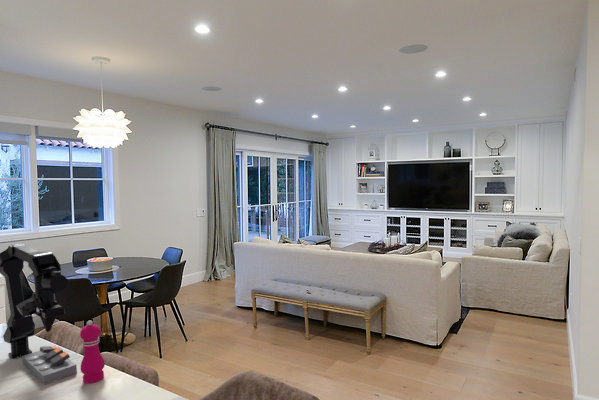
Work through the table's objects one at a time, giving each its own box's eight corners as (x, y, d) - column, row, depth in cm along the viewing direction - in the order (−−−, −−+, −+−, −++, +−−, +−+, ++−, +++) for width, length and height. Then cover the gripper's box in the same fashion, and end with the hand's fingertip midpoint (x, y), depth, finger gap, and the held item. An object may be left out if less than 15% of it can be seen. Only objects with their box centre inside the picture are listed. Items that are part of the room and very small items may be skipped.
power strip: (22, 364, 148) (22, 355, 147) (53, 354, 155) (52, 346, 155) (44, 384, 132) (43, 375, 131) (76, 373, 139) (76, 363, 139)
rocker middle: (46, 360, 144) (43, 355, 144) (60, 352, 148) (58, 346, 147) (49, 363, 142) (47, 358, 141) (64, 354, 145) (62, 349, 145)
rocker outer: (51, 365, 140) (49, 359, 140) (66, 356, 144) (64, 351, 143) (55, 368, 138) (53, 363, 137) (70, 359, 141) (68, 354, 141)
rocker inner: (39, 352, 148) (40, 346, 148) (53, 351, 152) (55, 345, 152) (42, 355, 145) (43, 349, 146) (57, 354, 149) (58, 348, 149)
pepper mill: (95, 385, 130) (91, 324, 129) (76, 383, 132) (71, 324, 131) (110, 374, 137) (106, 317, 136) (91, 372, 139) (87, 316, 138)
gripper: (9, 289, 142) (13, 332, 143) (26, 298, 130) (30, 345, 131) (45, 282, 151) (48, 323, 152) (64, 290, 139) (67, 334, 140)
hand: (48, 331), depth 143 cm, fingers closed
